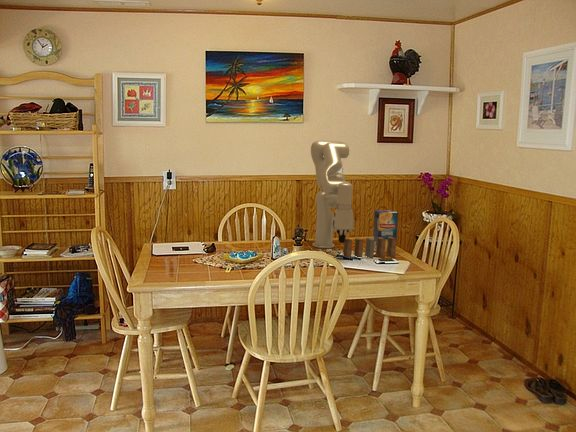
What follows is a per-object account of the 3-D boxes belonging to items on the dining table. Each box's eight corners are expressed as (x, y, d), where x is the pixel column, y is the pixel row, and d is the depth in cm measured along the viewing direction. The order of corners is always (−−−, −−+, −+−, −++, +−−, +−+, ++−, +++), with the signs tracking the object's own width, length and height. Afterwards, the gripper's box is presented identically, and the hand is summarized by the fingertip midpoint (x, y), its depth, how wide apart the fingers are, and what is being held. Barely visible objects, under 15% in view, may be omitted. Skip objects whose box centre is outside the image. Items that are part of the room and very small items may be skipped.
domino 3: (365, 256, 293) (366, 237, 291) (368, 256, 294) (370, 237, 292) (369, 258, 288) (370, 239, 286) (373, 258, 289) (374, 239, 287)
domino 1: (342, 257, 288) (344, 238, 287) (346, 257, 289) (347, 238, 287) (347, 259, 284) (348, 240, 282) (350, 259, 284) (352, 240, 283)
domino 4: (375, 255, 295) (377, 237, 293) (379, 255, 296) (380, 237, 294) (380, 258, 290) (381, 239, 289) (384, 257, 291) (385, 239, 289)
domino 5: (386, 255, 297) (388, 237, 295) (390, 255, 298) (391, 236, 296) (391, 257, 293) (392, 239, 291) (394, 257, 293) (396, 238, 292)
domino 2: (354, 256, 290) (355, 238, 289) (357, 256, 291) (359, 238, 290) (358, 259, 286) (359, 240, 284) (362, 258, 287) (363, 240, 285)
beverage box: (395, 251, 306) (398, 212, 303) (376, 251, 304) (379, 212, 300) (390, 248, 313) (393, 210, 309) (371, 249, 310) (374, 210, 307)
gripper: (333, 208, 275) (331, 244, 278) (360, 208, 279) (357, 243, 283) (327, 206, 282) (325, 241, 285) (353, 205, 286) (351, 240, 290)
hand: (341, 242), depth 284 cm, fingers closed
